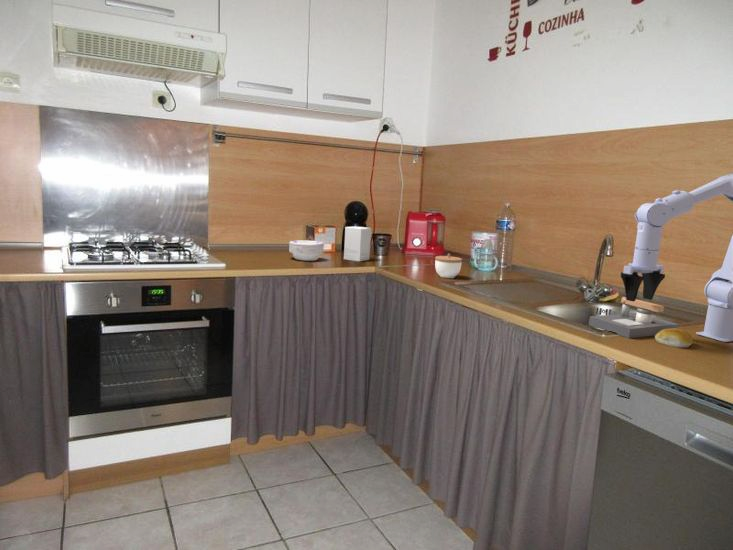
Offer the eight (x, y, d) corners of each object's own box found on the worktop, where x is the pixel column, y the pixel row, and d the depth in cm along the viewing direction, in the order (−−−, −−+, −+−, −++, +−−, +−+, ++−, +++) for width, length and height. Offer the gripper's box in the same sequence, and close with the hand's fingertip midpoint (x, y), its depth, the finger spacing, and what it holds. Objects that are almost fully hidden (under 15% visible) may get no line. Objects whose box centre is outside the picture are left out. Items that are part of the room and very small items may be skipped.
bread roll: (694, 344, 140) (697, 329, 139) (687, 350, 133) (689, 335, 133) (659, 336, 145) (661, 322, 145) (650, 342, 139) (653, 327, 138)
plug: (640, 327, 153) (643, 307, 152) (653, 331, 150) (656, 310, 149) (630, 328, 151) (634, 307, 150) (643, 332, 148) (647, 311, 147)
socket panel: (635, 320, 161) (638, 301, 160) (677, 332, 150) (680, 311, 149) (588, 325, 152) (591, 304, 151) (628, 338, 141) (632, 315, 140)
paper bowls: (286, 256, 245) (286, 239, 243) (319, 257, 249) (319, 240, 248) (291, 261, 230) (292, 243, 229) (326, 262, 235) (327, 244, 234)
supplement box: (370, 260, 250) (372, 227, 248) (359, 261, 243) (361, 228, 240) (353, 257, 255) (355, 225, 252) (343, 259, 247) (344, 226, 245)
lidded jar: (429, 276, 216) (431, 253, 214) (439, 273, 225) (441, 251, 223) (455, 280, 211) (457, 256, 209) (463, 277, 220) (466, 254, 219)
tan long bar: (619, 302, 155) (620, 297, 155) (625, 301, 157) (626, 296, 156) (657, 312, 145) (658, 306, 145) (663, 311, 146) (664, 306, 146)
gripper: (648, 246, 149) (641, 295, 151) (616, 247, 141) (608, 298, 144) (673, 250, 143) (665, 300, 145) (641, 251, 135) (633, 304, 138)
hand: (639, 299), depth 144 cm, fingers open, 7 cm apart
